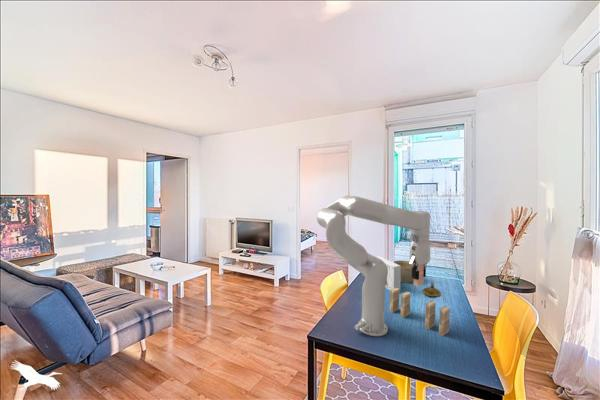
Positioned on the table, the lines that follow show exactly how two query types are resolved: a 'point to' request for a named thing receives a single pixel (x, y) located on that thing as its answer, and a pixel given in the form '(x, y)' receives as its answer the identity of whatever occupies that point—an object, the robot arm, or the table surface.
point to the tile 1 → (405, 304)
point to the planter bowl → (405, 271)
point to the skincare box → (392, 274)
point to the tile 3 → (430, 315)
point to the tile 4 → (444, 320)
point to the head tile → (394, 300)
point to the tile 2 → (421, 273)
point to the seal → (431, 291)
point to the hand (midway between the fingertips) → (418, 277)
